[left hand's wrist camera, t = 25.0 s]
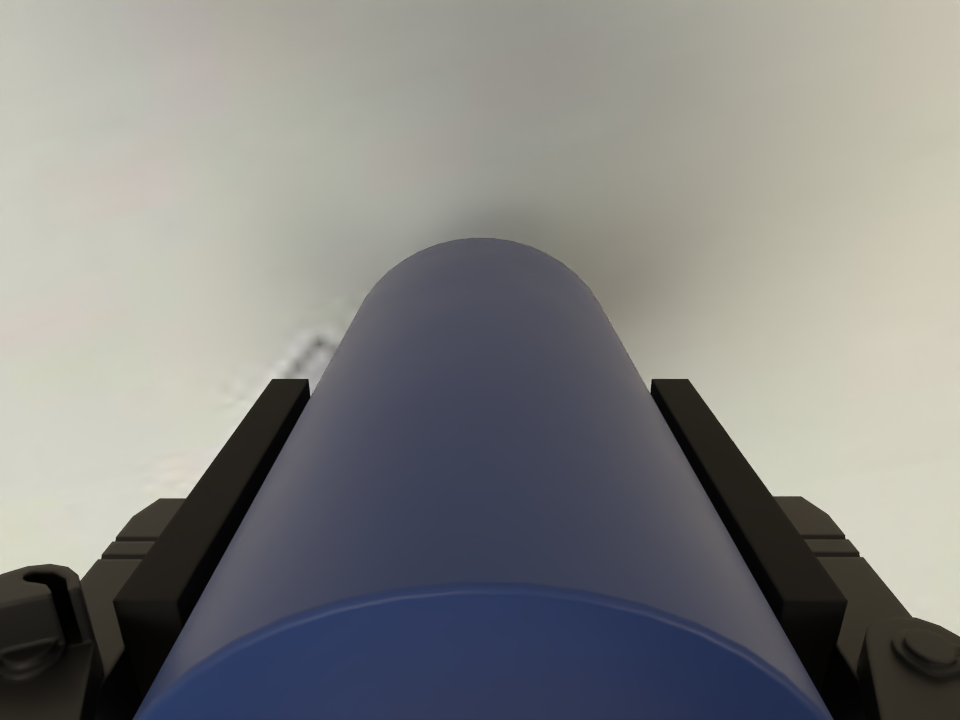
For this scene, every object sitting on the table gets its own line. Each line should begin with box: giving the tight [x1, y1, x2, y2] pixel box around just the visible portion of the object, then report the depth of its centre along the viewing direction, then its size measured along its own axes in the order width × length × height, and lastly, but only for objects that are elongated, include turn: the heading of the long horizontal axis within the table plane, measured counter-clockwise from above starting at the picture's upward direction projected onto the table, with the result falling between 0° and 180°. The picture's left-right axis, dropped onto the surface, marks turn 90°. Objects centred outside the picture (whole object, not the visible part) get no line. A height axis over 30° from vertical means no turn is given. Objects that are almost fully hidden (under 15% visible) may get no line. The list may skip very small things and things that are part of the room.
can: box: [133, 238, 834, 720], centre depth 12 cm, size 7×7×13 cm
